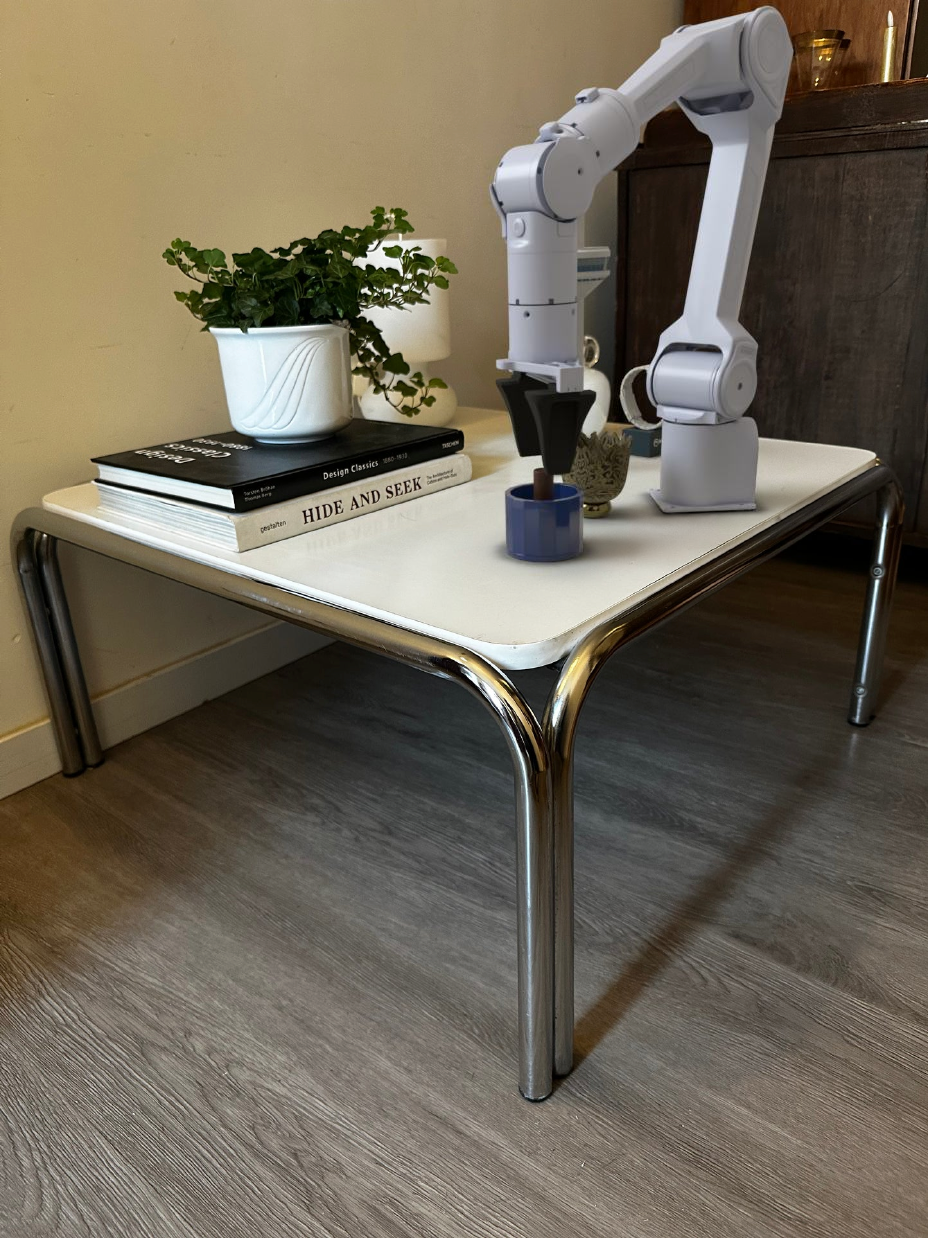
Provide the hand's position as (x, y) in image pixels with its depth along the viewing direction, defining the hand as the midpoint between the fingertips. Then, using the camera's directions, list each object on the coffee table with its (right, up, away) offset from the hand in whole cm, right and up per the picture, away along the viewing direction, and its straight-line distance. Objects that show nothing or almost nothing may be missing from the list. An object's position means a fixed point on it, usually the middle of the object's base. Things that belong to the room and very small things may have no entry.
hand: (543, 464), depth 82 cm
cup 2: (+6, -3, +13) cm, 15 cm away
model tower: (+6, +4, +32) cm, 33 cm away
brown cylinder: (0, -7, +3) cm, 8 cm away
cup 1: (0, -7, +3) cm, 8 cm away
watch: (+17, +8, +40) cm, 44 cm away
